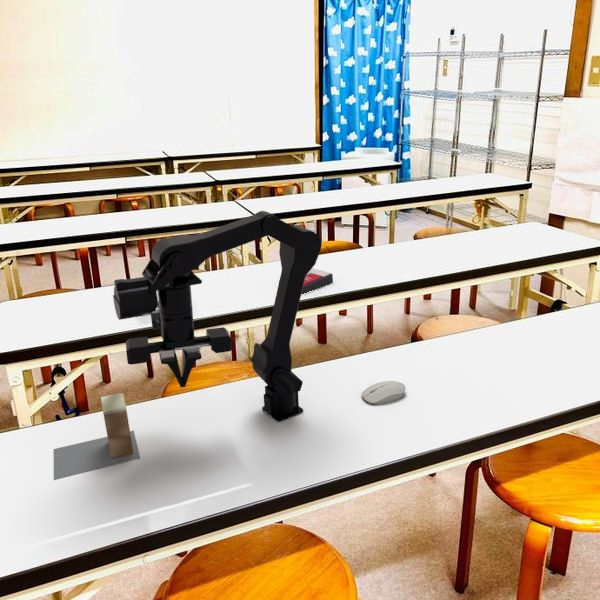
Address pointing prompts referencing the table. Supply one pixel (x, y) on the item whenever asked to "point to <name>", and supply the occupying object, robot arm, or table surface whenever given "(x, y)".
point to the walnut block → (117, 425)
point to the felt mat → (88, 457)
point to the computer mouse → (383, 392)
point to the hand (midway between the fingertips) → (182, 386)
